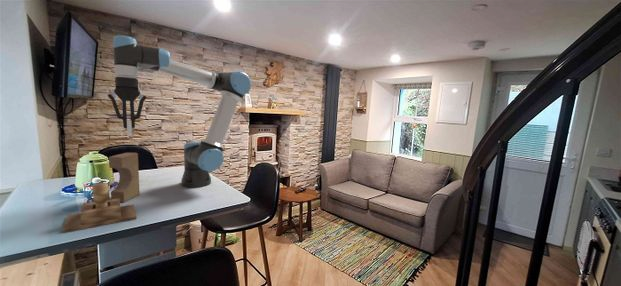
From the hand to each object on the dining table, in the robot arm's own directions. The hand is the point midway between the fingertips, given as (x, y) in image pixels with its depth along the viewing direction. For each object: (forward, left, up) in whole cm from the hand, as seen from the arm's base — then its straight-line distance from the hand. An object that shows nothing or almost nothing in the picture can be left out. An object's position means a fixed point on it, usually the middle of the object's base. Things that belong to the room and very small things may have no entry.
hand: (129, 136), depth 105 cm
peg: (+10, +10, -28) cm, 32 cm away
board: (+10, +10, -29) cm, 33 cm away
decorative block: (+2, -10, -30) cm, 31 cm away
